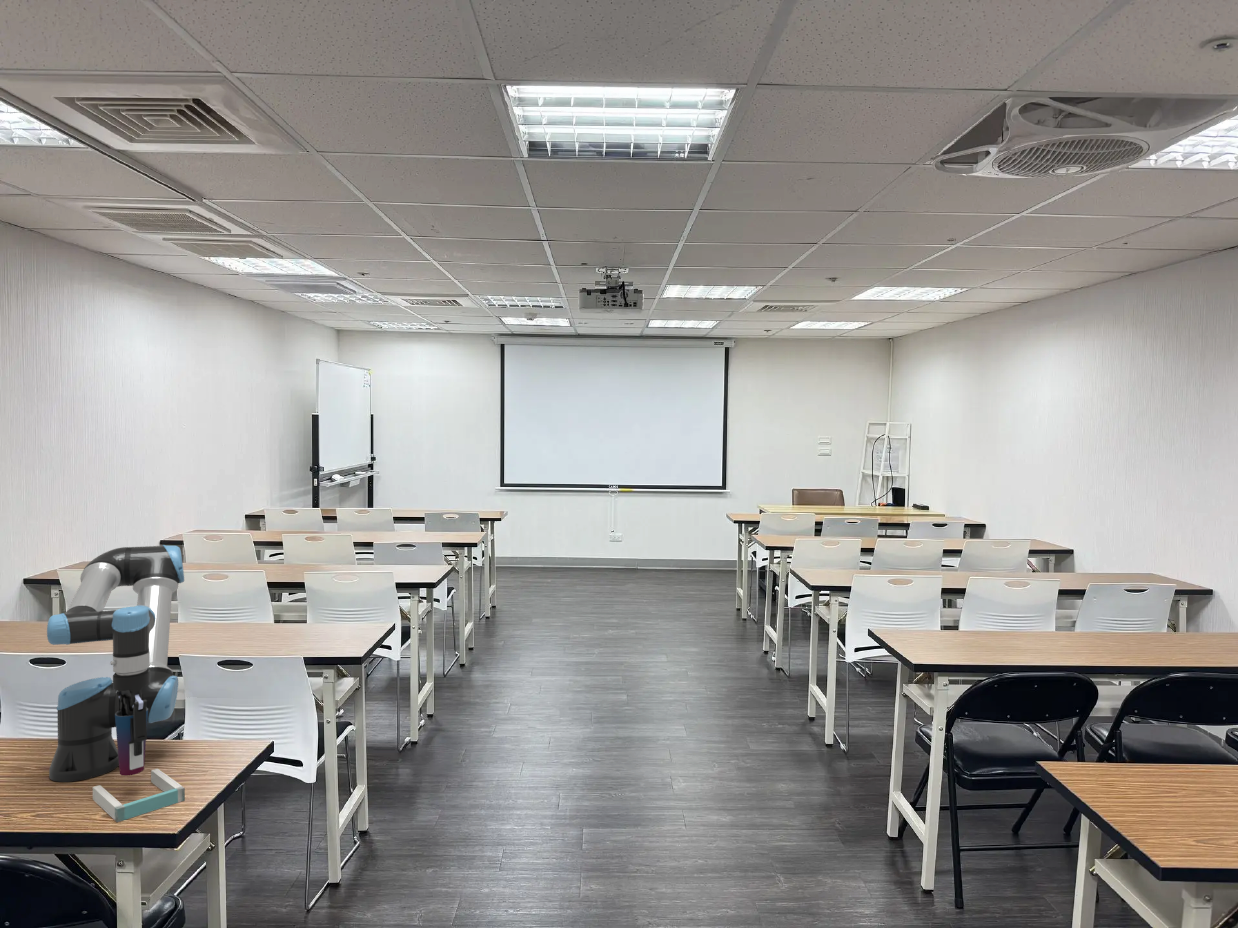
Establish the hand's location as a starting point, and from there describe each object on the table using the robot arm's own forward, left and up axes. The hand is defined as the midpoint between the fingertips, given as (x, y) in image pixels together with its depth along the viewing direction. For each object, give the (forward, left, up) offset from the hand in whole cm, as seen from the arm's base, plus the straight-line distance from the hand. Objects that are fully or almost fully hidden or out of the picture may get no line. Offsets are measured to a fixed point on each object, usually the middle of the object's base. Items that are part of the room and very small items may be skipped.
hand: (131, 763), depth 180 cm
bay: (+6, 0, -7) cm, 9 cm away
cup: (0, 0, -2) cm, 2 cm away
